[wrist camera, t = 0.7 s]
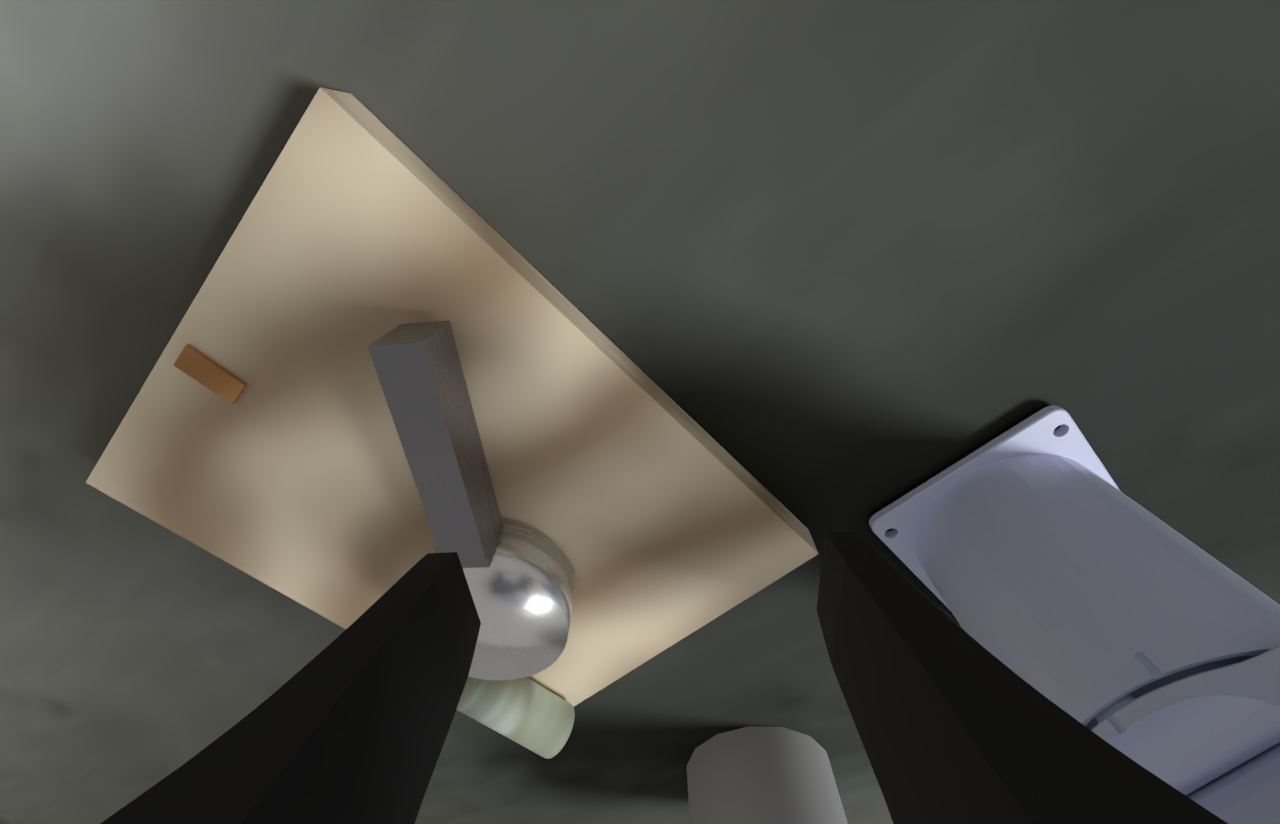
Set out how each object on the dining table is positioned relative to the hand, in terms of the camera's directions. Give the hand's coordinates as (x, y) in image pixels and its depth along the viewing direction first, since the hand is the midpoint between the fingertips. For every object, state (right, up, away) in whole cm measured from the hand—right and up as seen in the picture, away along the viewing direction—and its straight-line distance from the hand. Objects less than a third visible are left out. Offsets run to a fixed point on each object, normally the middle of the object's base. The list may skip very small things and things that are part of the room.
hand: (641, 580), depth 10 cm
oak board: (-7, 0, +11) cm, 13 cm away
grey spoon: (-6, 0, +9) cm, 11 cm away
